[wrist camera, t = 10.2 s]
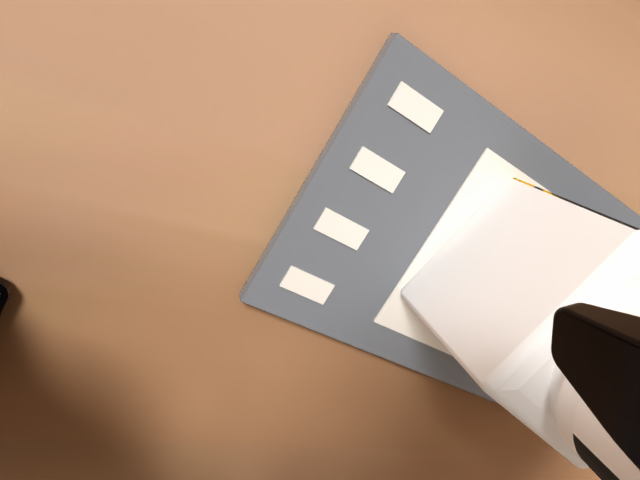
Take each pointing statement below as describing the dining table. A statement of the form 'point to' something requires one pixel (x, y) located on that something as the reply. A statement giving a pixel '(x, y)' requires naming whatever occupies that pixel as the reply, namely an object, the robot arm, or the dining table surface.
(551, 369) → the medicine bottle
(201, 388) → the dining table surface
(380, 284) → the label mat
